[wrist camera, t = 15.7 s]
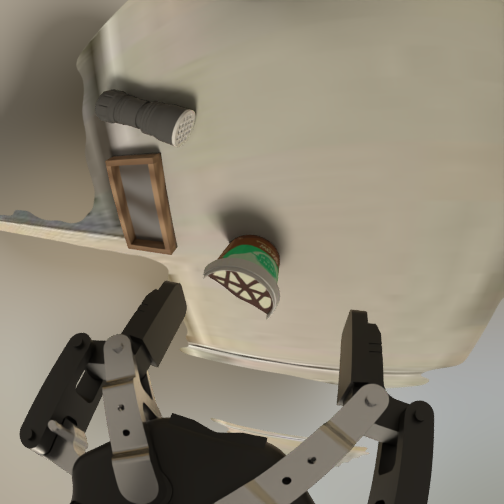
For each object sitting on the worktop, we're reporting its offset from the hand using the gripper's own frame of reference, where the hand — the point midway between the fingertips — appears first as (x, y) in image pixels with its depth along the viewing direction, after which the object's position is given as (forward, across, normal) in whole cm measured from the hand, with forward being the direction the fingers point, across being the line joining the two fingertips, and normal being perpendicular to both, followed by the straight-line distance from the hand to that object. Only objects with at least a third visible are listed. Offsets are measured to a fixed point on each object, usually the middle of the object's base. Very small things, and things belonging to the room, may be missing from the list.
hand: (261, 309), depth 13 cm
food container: (+28, +6, +17) cm, 34 cm away
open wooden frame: (+28, +27, +10) cm, 40 cm away
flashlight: (+30, +28, -8) cm, 42 cm away
